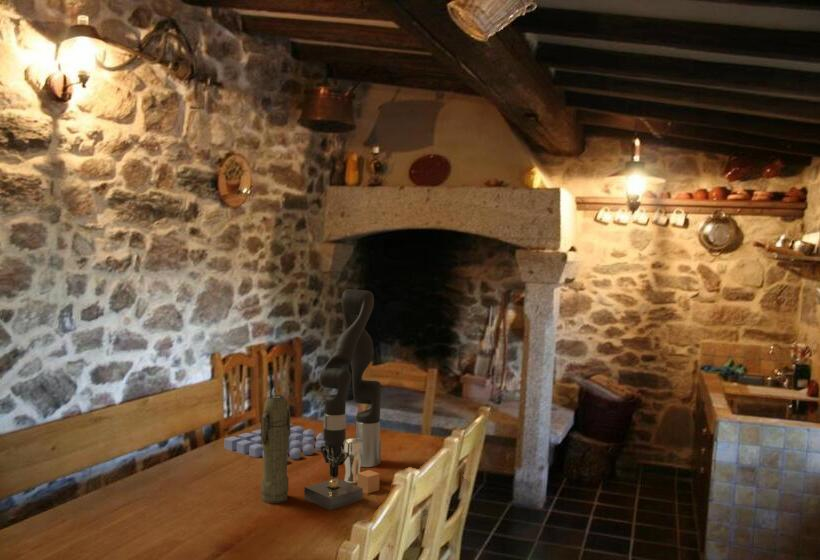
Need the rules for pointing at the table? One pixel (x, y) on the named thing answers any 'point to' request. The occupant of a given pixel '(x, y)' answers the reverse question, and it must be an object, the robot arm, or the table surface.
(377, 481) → the light brown cube
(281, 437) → the green stone statue
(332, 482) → the pin
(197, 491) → the table surface
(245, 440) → the blocks
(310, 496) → the plate
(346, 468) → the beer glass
